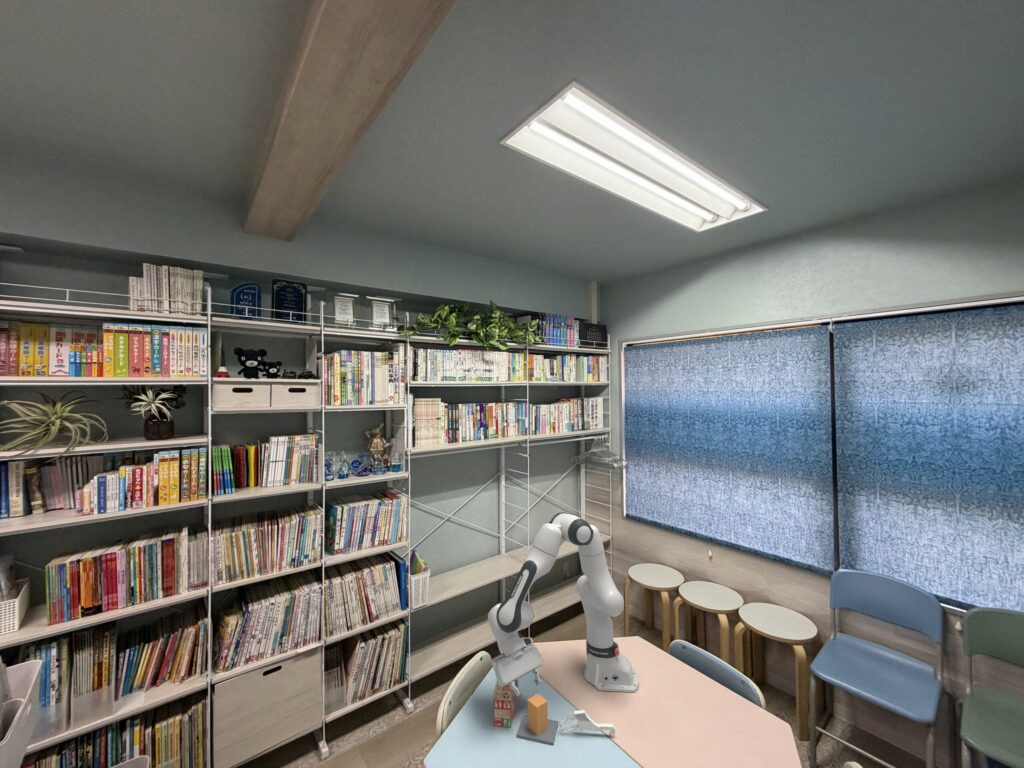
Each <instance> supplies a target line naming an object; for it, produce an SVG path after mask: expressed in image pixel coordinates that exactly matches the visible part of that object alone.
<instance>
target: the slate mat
mask: <svg viewBox="0 0 1024 768" xmlns="http://www.w3.org/2000/svg"><path fill="white" fill-rule="evenodd" d="M558 722H559V720H553V719H550V718H548V729H546V730H545V731H543V732H542V733H540V734H539V735H536V734H535V733H534V732H533V731H532V730H531V729H530V728H528V714H525V713H524V714H522V718H521V719H520V724H519V726H518V729H517V732H516V735H515V737H516V738H518V739H521V740H522V739H524V740H527V741H532V742H536V743H541V744H546V745H551V746H554V745H555V741H556V735H557V730H558V727H559V723H558Z"/></svg>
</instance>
